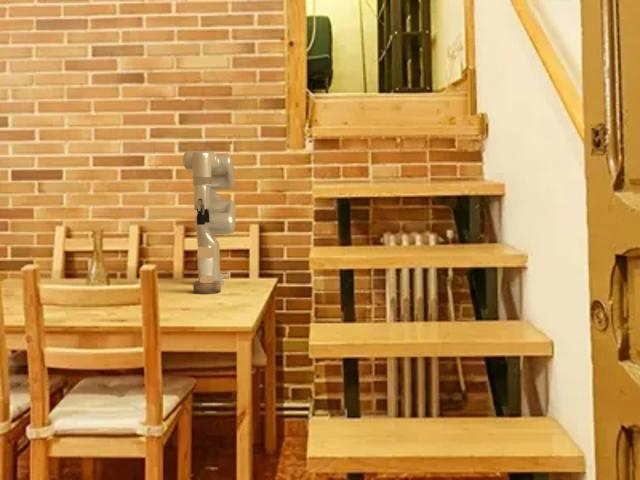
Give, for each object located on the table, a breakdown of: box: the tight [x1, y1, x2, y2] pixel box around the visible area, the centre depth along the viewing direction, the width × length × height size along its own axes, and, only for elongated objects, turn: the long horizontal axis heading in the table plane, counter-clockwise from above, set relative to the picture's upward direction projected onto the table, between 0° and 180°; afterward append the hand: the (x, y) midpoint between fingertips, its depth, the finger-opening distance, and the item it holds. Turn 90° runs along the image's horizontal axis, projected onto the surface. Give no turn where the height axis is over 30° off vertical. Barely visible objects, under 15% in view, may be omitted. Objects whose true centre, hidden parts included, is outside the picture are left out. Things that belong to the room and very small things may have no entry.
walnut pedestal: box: [192, 280, 221, 295], centre depth 293 cm, size 11×11×4 cm
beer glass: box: [196, 245, 215, 284], centre depth 292 cm, size 7×7×15 cm
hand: (203, 223), depth 293 cm, fingers open, 9 cm apart
